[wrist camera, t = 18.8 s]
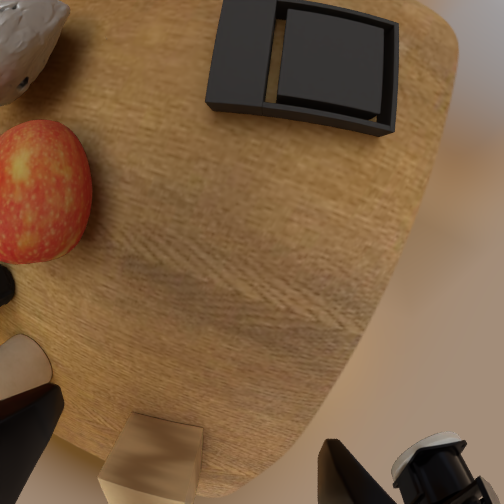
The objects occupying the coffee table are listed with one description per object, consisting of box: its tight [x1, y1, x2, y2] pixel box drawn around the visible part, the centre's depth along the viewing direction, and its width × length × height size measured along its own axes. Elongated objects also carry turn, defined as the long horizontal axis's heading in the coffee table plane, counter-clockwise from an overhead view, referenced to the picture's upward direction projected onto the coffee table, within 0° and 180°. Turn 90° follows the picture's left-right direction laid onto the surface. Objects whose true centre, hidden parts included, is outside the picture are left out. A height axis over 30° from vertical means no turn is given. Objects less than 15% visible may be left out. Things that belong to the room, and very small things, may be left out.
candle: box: [0, 334, 52, 400], centre depth 18 cm, size 6×6×10 cm
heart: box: [0, 0, 106, 106], centre depth 11 cm, size 10×10×12 cm
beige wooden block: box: [97, 412, 203, 504], centre depth 20 cm, size 6×6×8 cm
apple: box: [0, 119, 92, 265], centre depth 15 cm, size 8×8×8 cm
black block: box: [276, 9, 384, 120], centre depth 15 cm, size 6×6×2 cm
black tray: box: [205, 0, 399, 137], centre depth 15 cm, size 10×7×2 cm
